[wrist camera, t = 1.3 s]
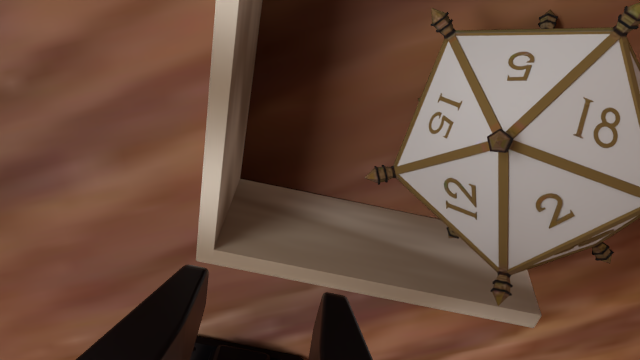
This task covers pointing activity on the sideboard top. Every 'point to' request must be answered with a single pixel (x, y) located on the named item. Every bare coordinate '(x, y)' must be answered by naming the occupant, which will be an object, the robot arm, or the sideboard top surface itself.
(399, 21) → the sideboard top surface
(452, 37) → the game die
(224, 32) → the cubby
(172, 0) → the sideboard top surface
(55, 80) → the sideboard top surface
